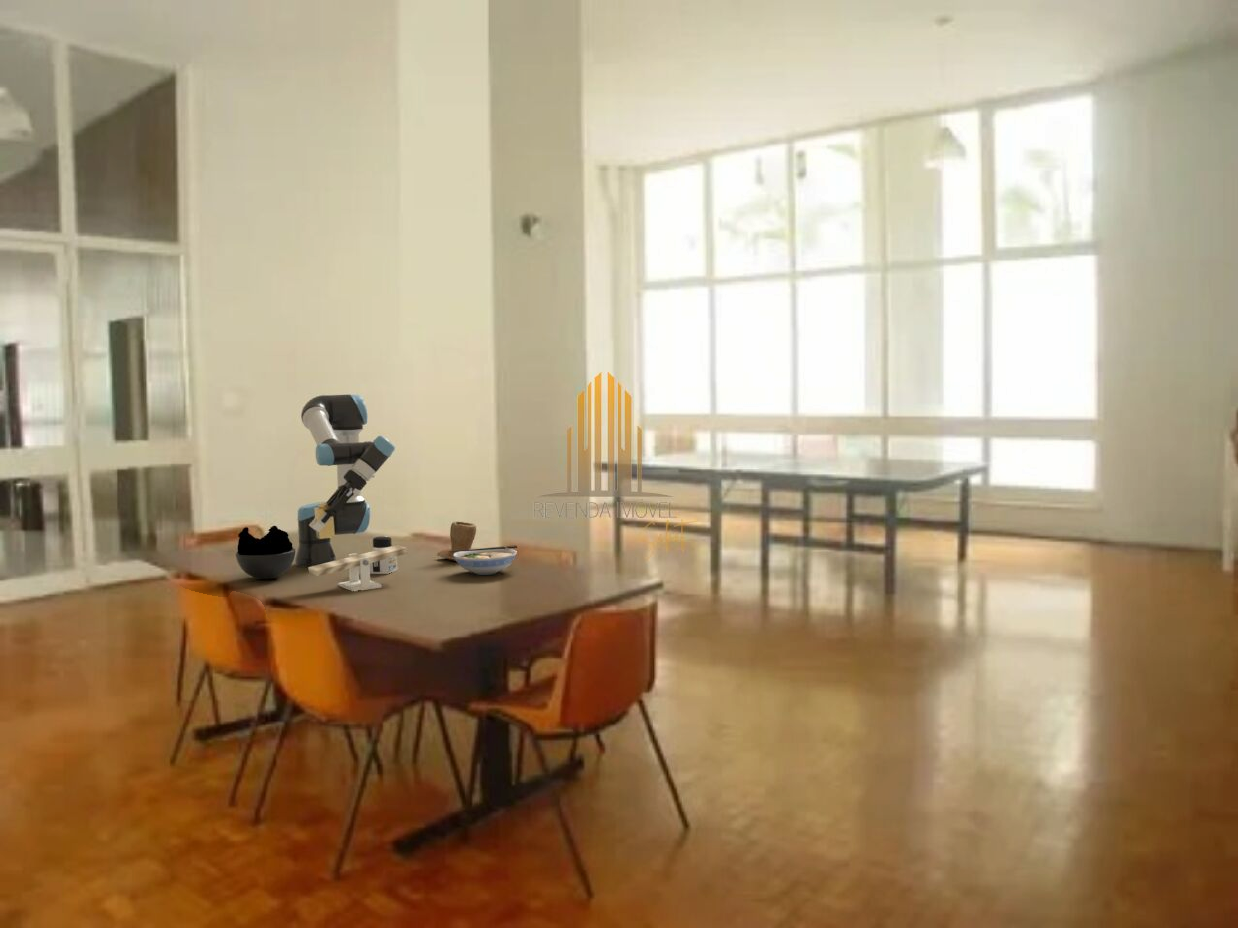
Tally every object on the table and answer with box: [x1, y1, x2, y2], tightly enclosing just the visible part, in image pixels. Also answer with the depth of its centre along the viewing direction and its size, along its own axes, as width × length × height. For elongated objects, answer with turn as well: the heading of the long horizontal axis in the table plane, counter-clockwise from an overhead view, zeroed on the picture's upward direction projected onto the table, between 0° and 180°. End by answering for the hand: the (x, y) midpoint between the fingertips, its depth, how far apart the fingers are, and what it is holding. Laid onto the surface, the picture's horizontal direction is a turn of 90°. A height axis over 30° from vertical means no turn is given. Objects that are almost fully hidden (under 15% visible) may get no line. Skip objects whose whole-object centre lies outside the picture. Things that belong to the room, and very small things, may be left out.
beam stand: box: [338, 553, 382, 592], centre depth 338 cm, size 10×13×10 cm
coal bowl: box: [235, 525, 296, 580], centre depth 354 cm, size 20×20×19 cm
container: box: [370, 535, 398, 575], centre depth 364 cm, size 8×8×13 cm
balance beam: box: [307, 544, 408, 577], centre depth 337 cm, size 32×8×2 cm, turn 126°
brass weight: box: [314, 503, 336, 539], centre depth 336 cm, size 5×5×12 cm
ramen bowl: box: [449, 544, 518, 576], centre depth 357 cm, size 25×23×8 cm
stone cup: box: [436, 520, 477, 562], centre depth 386 cm, size 15×12×15 cm
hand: (313, 528), depth 335 cm, fingers closed on brass weight, 5 cm apart
